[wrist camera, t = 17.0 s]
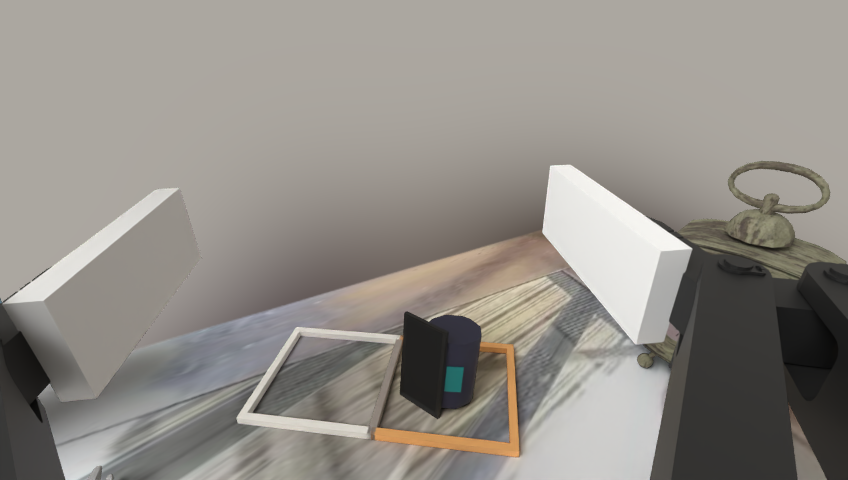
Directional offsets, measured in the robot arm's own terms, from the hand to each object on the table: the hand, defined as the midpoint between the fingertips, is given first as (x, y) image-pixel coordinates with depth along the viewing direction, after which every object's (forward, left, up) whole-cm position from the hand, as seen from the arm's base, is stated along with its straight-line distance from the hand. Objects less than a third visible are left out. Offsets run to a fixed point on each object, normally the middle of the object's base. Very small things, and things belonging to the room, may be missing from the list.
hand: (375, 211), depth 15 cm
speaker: (0, +20, -30) cm, 36 cm away
